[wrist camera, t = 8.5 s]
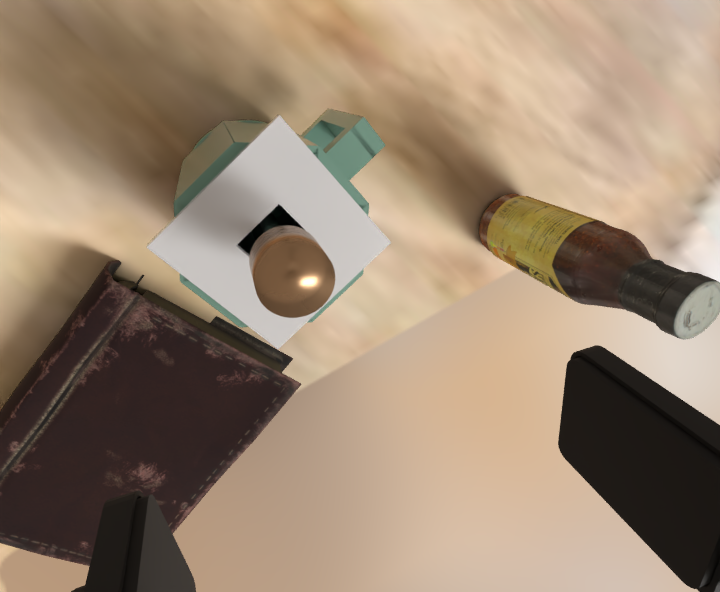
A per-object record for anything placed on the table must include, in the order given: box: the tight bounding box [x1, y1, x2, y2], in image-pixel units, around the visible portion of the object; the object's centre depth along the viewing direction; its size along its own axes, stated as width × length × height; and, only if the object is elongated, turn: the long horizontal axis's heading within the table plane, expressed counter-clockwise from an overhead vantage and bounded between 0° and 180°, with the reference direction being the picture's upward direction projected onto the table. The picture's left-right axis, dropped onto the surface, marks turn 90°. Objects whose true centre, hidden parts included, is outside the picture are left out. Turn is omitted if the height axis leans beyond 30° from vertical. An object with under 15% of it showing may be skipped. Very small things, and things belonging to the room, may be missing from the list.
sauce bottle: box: [479, 194, 720, 339], centre depth 36 cm, size 6×6×20 cm
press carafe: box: [147, 109, 391, 349], centre depth 30 cm, size 10×13×14 cm
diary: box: [0, 260, 301, 566], centre depth 40 cm, size 19×25×5 cm
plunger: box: [238, 204, 335, 318], centre depth 26 cm, size 7×7×15 cm
